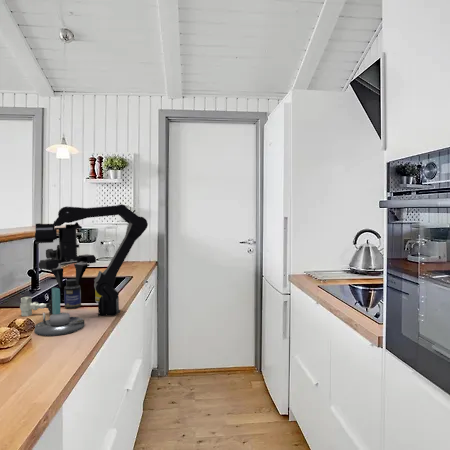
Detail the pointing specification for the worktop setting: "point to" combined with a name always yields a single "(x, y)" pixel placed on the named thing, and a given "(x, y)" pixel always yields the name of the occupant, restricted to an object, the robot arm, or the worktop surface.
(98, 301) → the supplement bottle
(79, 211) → the robot arm
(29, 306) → the valve
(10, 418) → the worktop surface
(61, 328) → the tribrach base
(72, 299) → the pill bottle
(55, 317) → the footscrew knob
